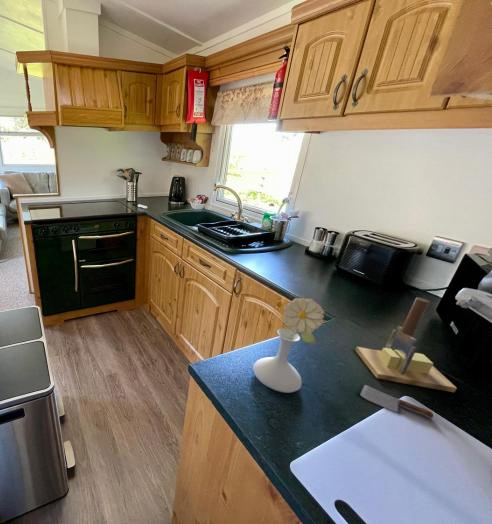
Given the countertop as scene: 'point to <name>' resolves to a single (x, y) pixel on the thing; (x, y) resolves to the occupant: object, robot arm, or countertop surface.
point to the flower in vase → (290, 345)
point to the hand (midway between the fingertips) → (479, 315)
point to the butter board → (403, 369)
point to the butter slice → (389, 357)
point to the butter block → (415, 363)
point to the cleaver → (392, 402)
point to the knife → (410, 327)
